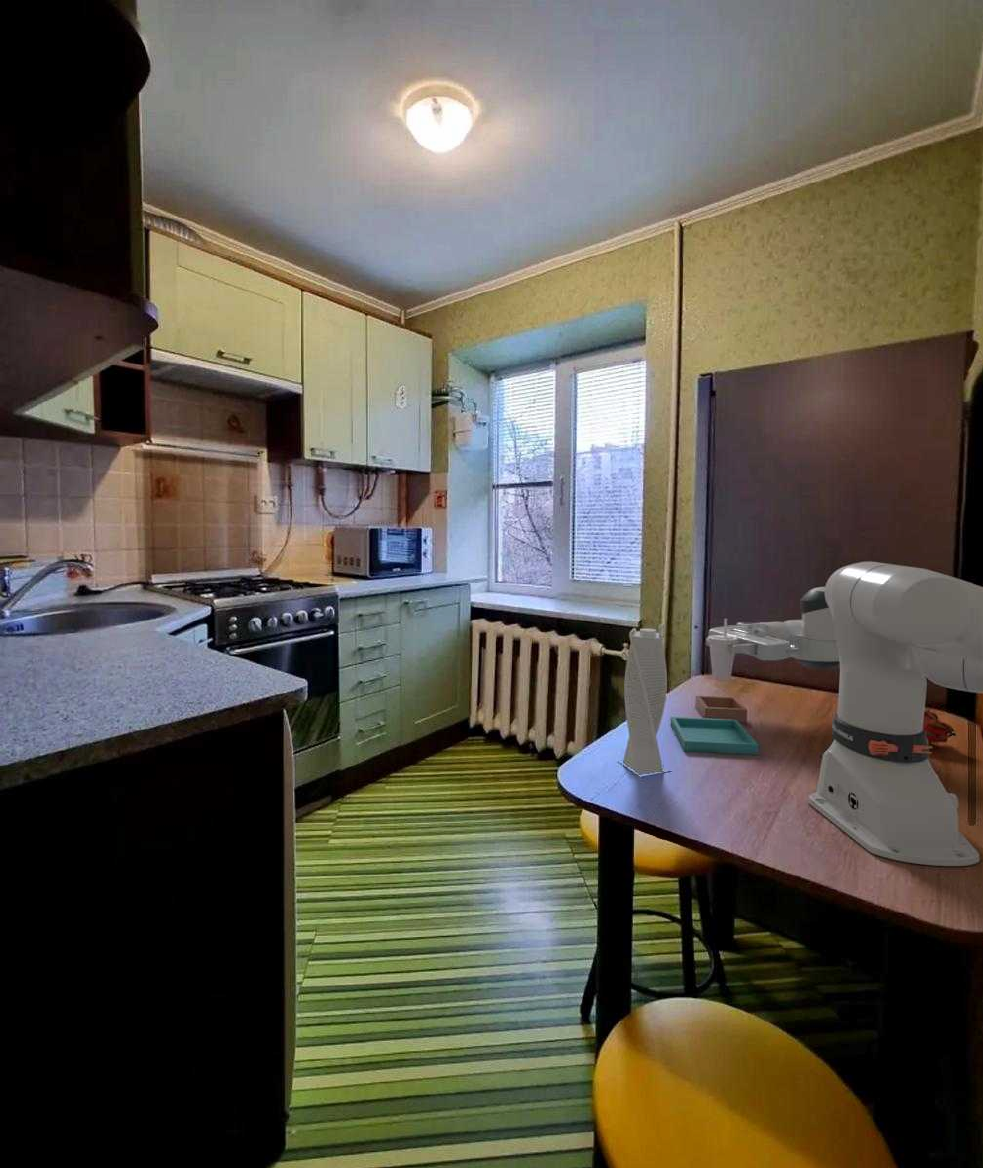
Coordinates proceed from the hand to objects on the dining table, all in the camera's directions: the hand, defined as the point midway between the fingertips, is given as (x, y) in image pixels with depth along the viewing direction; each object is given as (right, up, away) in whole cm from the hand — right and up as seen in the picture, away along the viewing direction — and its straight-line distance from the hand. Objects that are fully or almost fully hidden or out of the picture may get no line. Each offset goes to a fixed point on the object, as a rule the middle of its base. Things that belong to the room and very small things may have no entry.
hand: (719, 645), depth 128 cm
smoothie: (+1, -8, +1) cm, 8 cm away
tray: (-6, -18, -11) cm, 22 cm away
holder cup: (+2, -17, +4) cm, 17 cm away
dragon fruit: (+36, -19, -12) cm, 42 cm away
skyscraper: (-24, -21, -25) cm, 40 cm away
